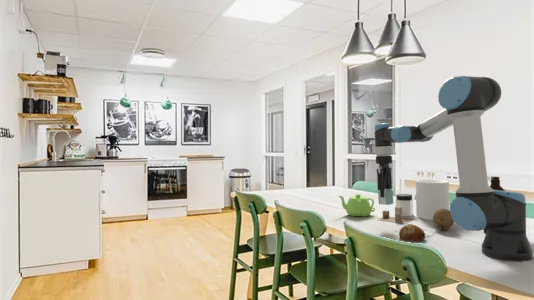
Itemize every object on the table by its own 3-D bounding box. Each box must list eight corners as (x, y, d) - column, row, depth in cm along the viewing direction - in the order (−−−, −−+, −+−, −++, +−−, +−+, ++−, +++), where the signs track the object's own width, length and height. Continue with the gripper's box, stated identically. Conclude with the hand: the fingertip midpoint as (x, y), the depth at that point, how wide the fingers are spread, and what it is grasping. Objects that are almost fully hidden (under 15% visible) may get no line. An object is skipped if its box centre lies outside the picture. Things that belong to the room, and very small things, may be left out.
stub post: (387, 218, 184) (387, 211, 184) (382, 217, 185) (382, 211, 185) (389, 217, 186) (389, 210, 186) (384, 216, 187) (384, 210, 187)
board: (406, 225, 170) (406, 223, 170) (376, 222, 180) (376, 220, 180) (413, 221, 179) (413, 219, 179) (385, 217, 189) (385, 216, 189)
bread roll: (408, 243, 154) (400, 226, 156) (430, 236, 148) (421, 218, 150) (401, 248, 147) (392, 230, 149) (423, 241, 141) (414, 223, 143)
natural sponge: (441, 233, 155) (441, 211, 155) (428, 228, 164) (428, 207, 164) (459, 231, 157) (458, 209, 157) (445, 226, 166) (445, 206, 166)
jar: (393, 215, 194) (392, 194, 194) (405, 214, 197) (404, 193, 196) (403, 218, 186) (403, 196, 185) (416, 217, 188) (415, 195, 188)
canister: (434, 214, 194) (433, 178, 193) (457, 220, 178) (456, 181, 178) (410, 216, 190) (409, 180, 189) (430, 223, 174) (430, 183, 174)
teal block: (389, 204, 164) (388, 191, 164) (378, 204, 168) (378, 190, 168) (393, 203, 168) (392, 189, 168) (382, 202, 172) (382, 189, 172)
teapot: (355, 221, 184) (355, 197, 183) (338, 216, 196) (337, 194, 196) (377, 217, 191) (377, 194, 191) (359, 213, 204) (358, 191, 203)
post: (400, 221, 176) (400, 207, 176) (395, 220, 177) (394, 207, 177) (402, 220, 178) (401, 206, 178) (396, 219, 179) (396, 206, 179)
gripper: (384, 156, 159) (386, 206, 159) (397, 154, 173) (399, 201, 173) (368, 156, 163) (370, 205, 163) (383, 154, 177) (384, 200, 177)
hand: (385, 203), depth 168 cm, fingers closed on teal block, 5 cm apart
